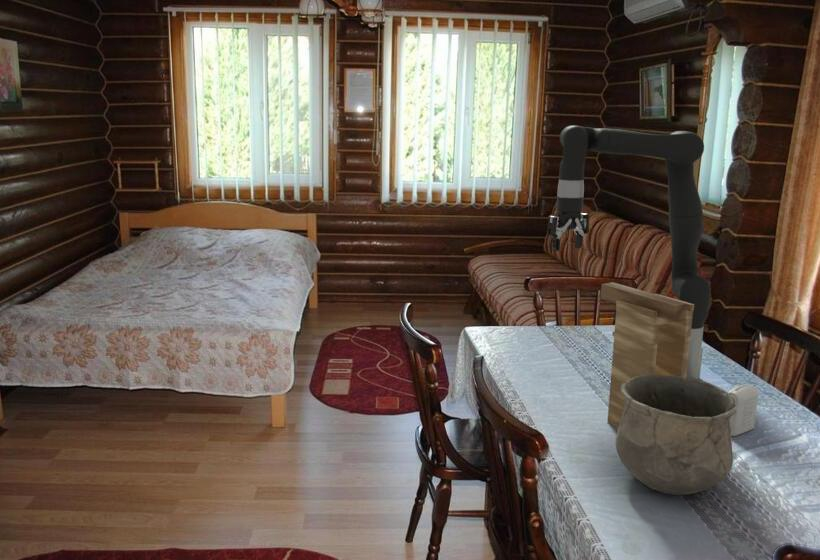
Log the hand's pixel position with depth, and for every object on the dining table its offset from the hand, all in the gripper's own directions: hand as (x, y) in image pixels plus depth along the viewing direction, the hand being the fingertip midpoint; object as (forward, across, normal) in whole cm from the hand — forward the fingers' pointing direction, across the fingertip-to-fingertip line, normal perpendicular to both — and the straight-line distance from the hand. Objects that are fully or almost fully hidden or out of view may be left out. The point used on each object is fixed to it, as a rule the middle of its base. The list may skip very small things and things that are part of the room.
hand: (567, 249), depth 206 cm
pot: (+40, +23, +61) cm, 77 cm away
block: (+8, +8, +37) cm, 38 cm away
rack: (+40, +5, +38) cm, 55 cm away
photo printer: (+40, -14, +52) cm, 67 cm away
